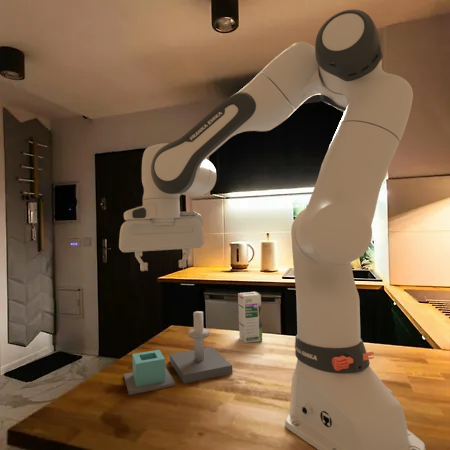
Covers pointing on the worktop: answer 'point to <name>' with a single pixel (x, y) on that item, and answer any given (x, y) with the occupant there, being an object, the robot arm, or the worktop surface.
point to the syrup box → (250, 317)
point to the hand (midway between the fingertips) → (163, 269)
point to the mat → (134, 390)
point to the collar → (148, 367)
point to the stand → (199, 357)
